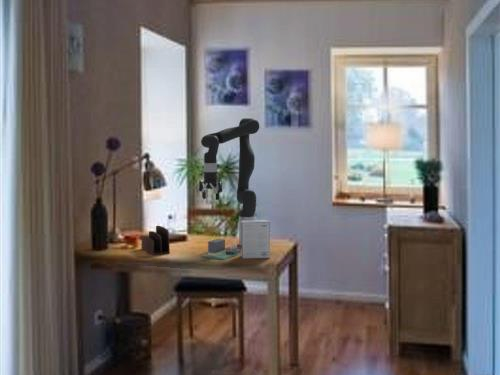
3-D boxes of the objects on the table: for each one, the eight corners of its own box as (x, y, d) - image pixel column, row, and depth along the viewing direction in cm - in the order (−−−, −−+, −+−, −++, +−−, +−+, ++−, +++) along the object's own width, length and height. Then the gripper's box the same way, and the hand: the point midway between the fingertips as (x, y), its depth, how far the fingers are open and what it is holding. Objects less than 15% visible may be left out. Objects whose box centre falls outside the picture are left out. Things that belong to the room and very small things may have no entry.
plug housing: (218, 249, 371) (218, 238, 371) (225, 250, 369) (225, 239, 368) (208, 252, 363) (208, 241, 362) (215, 253, 361) (215, 242, 360)
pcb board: (219, 251, 378) (219, 241, 378) (240, 253, 371) (240, 244, 371) (202, 257, 363) (202, 247, 362) (223, 259, 356) (223, 249, 355)
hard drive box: (269, 255, 368) (269, 220, 365) (270, 258, 360) (270, 222, 358) (241, 255, 367) (241, 220, 365) (241, 258, 359) (241, 222, 357)
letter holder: (157, 247, 388) (157, 224, 387) (169, 254, 371) (169, 229, 369) (141, 249, 384) (140, 225, 382) (152, 255, 366) (152, 230, 365)
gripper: (224, 170, 373) (224, 199, 375) (203, 169, 380) (203, 197, 382) (217, 171, 367) (217, 201, 369) (196, 170, 374) (196, 199, 376)
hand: (210, 199), depth 375 cm, fingers open, 8 cm apart
